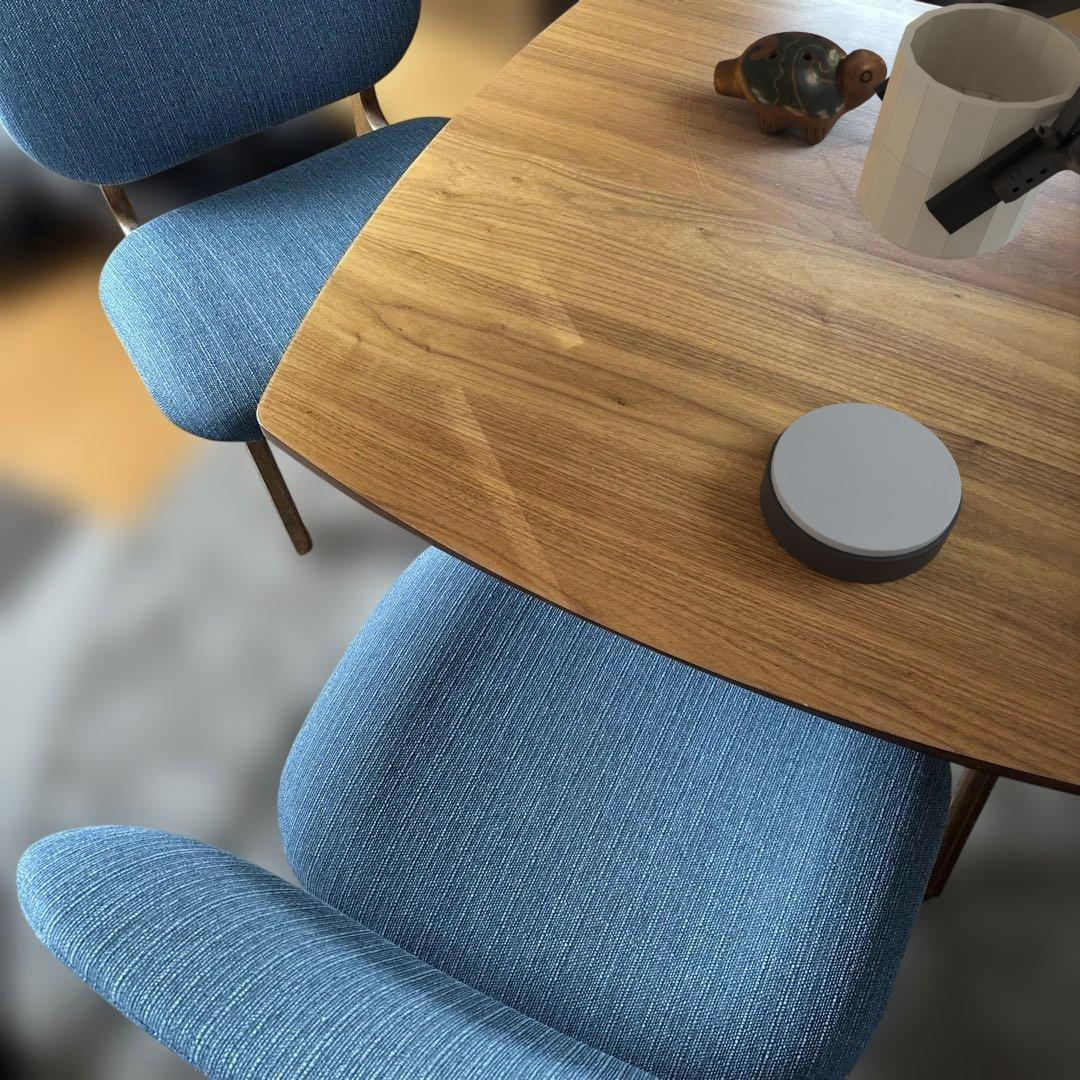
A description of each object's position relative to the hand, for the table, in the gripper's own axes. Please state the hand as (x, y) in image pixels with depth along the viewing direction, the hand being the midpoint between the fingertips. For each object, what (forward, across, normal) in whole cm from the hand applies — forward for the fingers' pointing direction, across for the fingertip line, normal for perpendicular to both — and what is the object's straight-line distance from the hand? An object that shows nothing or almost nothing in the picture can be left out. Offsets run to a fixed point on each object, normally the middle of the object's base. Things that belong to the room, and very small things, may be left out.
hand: (910, 159), depth 63 cm
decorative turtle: (+11, +31, -15) cm, 36 cm away
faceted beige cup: (+1, 0, -5) cm, 5 cm away
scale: (+15, -13, -12) cm, 23 cm away
